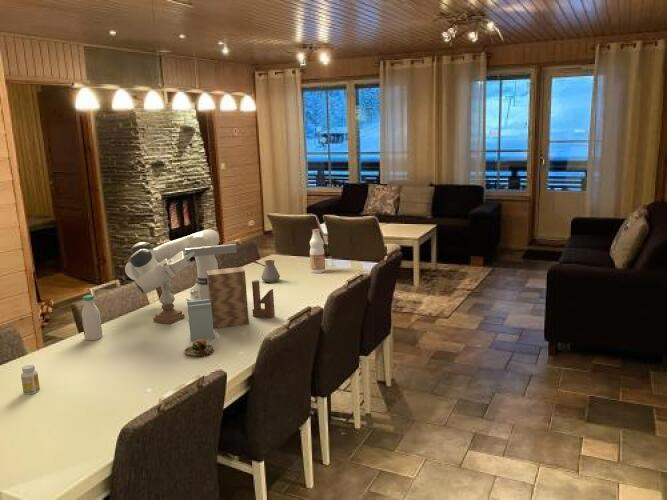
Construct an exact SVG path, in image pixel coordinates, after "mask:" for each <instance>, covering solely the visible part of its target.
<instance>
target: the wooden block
mask: <svg viewBox="0 0 667 500" xmlns="http://www.w3.org/2000/svg"><path fill="white" fill-rule="evenodd" d="M260 287H261V286H260V279H259V280H257V279H255V280H251V288H252V299H253V300H252V301H253V308H252V317H256V318H257V317H258V318H266V319H272V318H274V317H275V316H276V314H275V313H276V312H275V299H274V288H271V289H269V291H268V292H267V293H265V295H264V296H263V297H261V288H260ZM262 304H263V305H264V308H263V307H262Z"/></svg>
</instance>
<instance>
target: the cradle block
mask: <svg viewBox="0 0 667 500" xmlns="http://www.w3.org/2000/svg"><path fill="white" fill-rule="evenodd" d="M186 303H187V305H186V306H187V312H188V313H187V314H188V325H189V334H190V335H189V336H190V342H196V341H197V340H198V339H204V340H209V339H210V340H211V339H215V334H214V329H213V320H212V309H211V303H210V299H206V300H198V301H187V302H186Z"/></svg>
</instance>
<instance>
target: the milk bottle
mask: <svg viewBox="0 0 667 500" xmlns="http://www.w3.org/2000/svg"><path fill="white" fill-rule="evenodd" d="M82 301H83V307H82V310H81V322H82V329H83V337H84V340H86V341H95V340H99V339H101V338H103V328H102V320H101V313H100V310H99V308H98V306H97V305H96V304H95V295H93V294H87V295H83V296H82Z"/></svg>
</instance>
